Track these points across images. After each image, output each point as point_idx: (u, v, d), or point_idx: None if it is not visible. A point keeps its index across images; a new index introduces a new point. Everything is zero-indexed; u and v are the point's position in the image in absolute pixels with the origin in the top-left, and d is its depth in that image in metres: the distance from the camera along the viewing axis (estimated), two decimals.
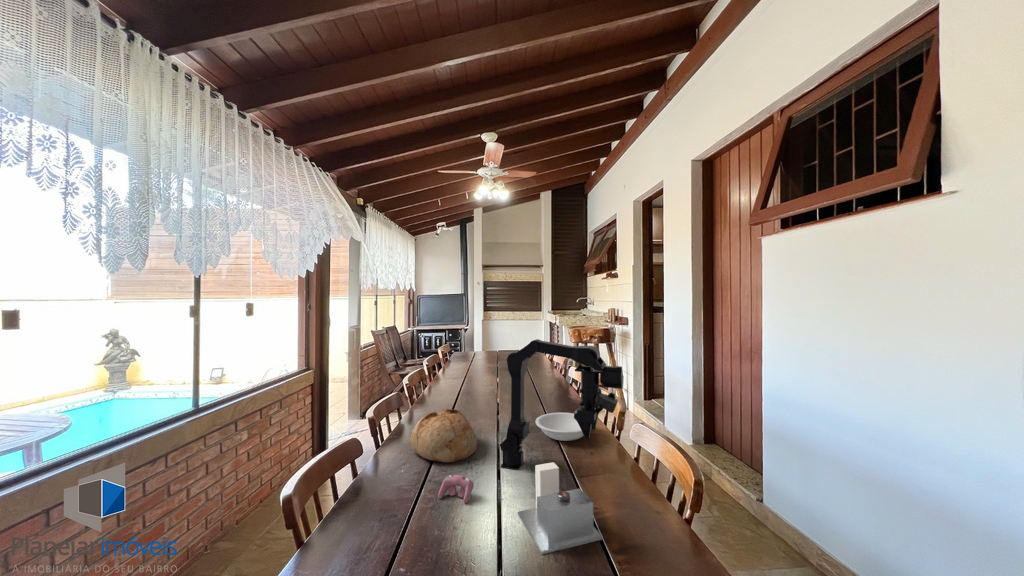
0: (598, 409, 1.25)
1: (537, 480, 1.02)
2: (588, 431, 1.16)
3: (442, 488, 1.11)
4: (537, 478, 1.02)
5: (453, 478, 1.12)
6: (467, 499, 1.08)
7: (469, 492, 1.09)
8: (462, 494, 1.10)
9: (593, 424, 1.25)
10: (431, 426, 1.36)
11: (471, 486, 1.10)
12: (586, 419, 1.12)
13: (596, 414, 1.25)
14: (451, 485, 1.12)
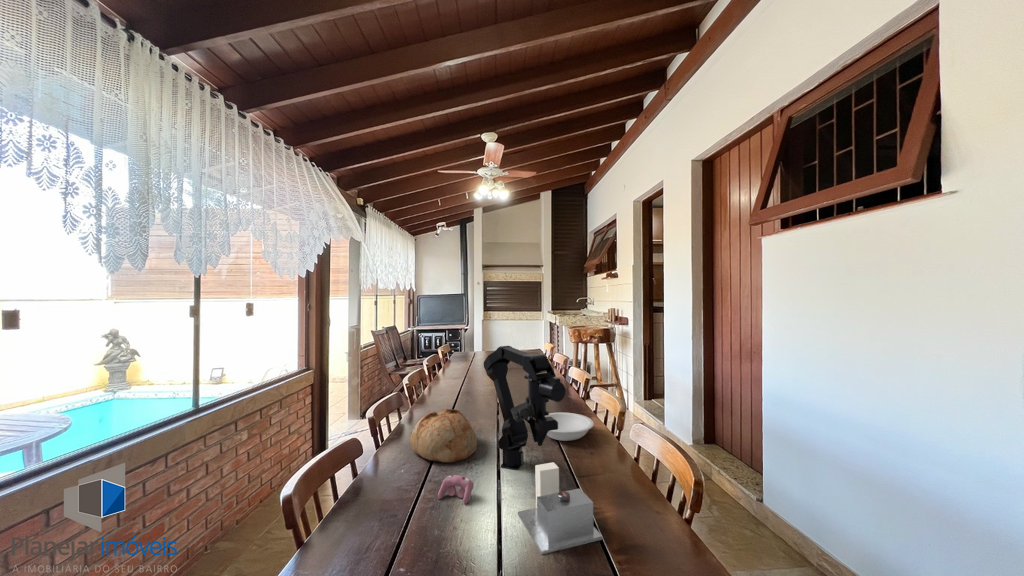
0: None
1: (537, 480, 1.02)
2: None
3: (442, 488, 1.11)
4: (537, 478, 1.02)
5: (453, 478, 1.11)
6: (467, 499, 1.07)
7: (469, 492, 1.08)
8: (462, 494, 1.10)
9: None
10: (431, 426, 1.36)
11: (471, 486, 1.10)
12: None
13: (536, 430, 1.18)
14: (451, 485, 1.12)
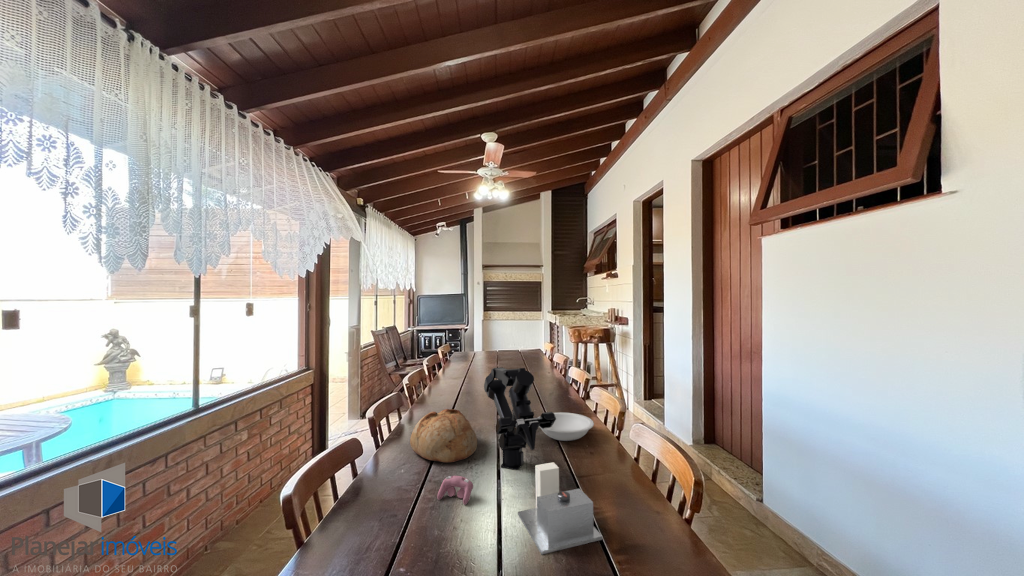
0: None
1: (537, 480, 1.02)
2: None
3: (441, 489, 1.10)
4: (537, 478, 1.02)
5: (453, 479, 1.11)
6: (467, 500, 1.07)
7: (468, 493, 1.08)
8: (461, 495, 1.10)
9: None
10: (431, 426, 1.36)
11: (470, 487, 1.10)
12: None
13: None
14: (450, 486, 1.11)
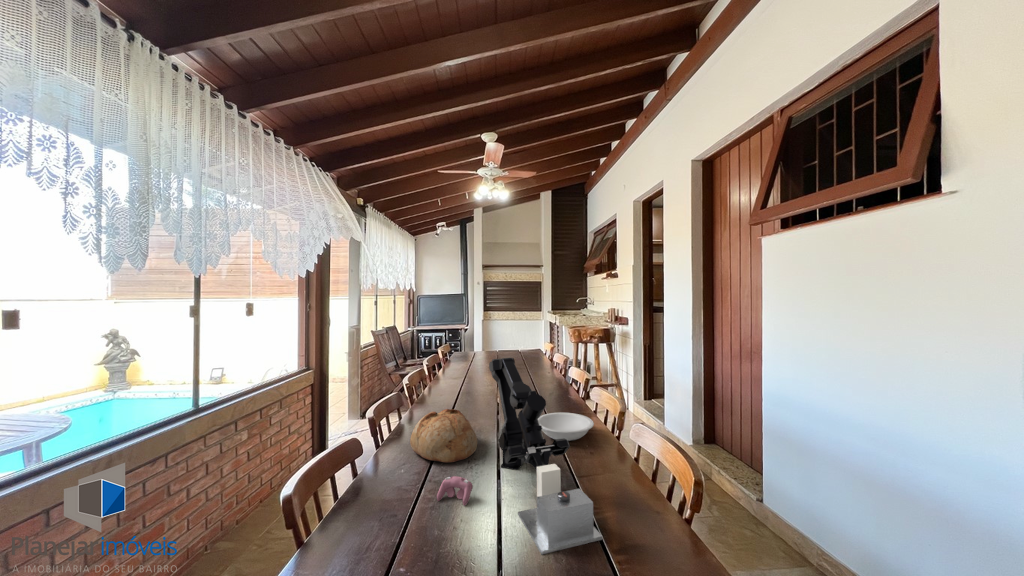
0: None
1: (539, 482, 1.01)
2: None
3: (441, 490, 1.10)
4: (538, 480, 1.01)
5: (452, 480, 1.11)
6: (466, 501, 1.07)
7: (468, 494, 1.08)
8: (461, 496, 1.09)
9: None
10: (431, 426, 1.36)
11: (470, 488, 1.09)
12: None
13: None
14: (450, 487, 1.11)
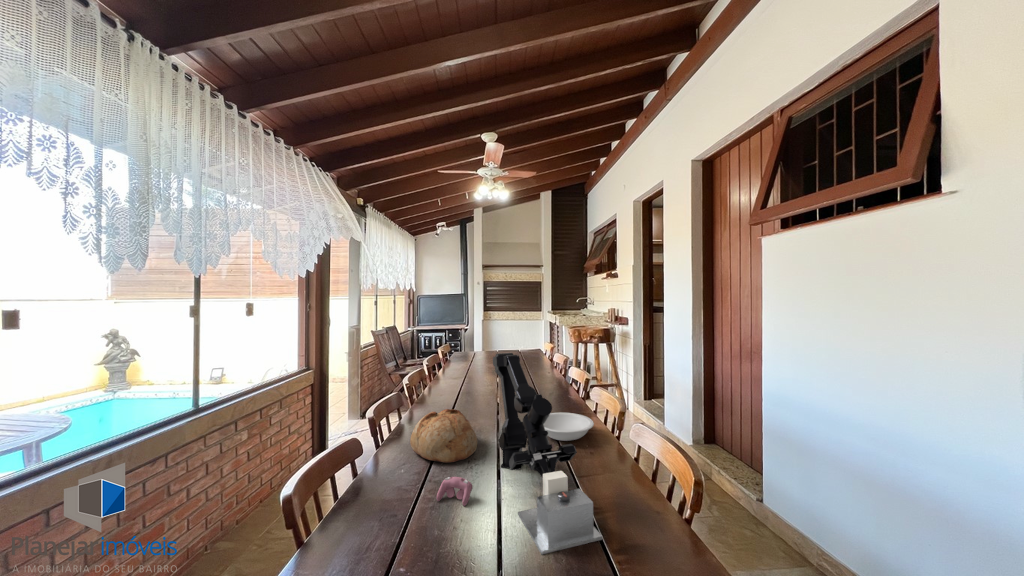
0: None
1: (545, 490, 0.97)
2: None
3: (440, 490, 1.10)
4: (545, 487, 0.97)
5: (452, 480, 1.10)
6: (466, 501, 1.06)
7: (468, 494, 1.08)
8: (461, 496, 1.09)
9: None
10: (431, 426, 1.36)
11: (470, 488, 1.09)
12: None
13: None
14: (450, 487, 1.11)
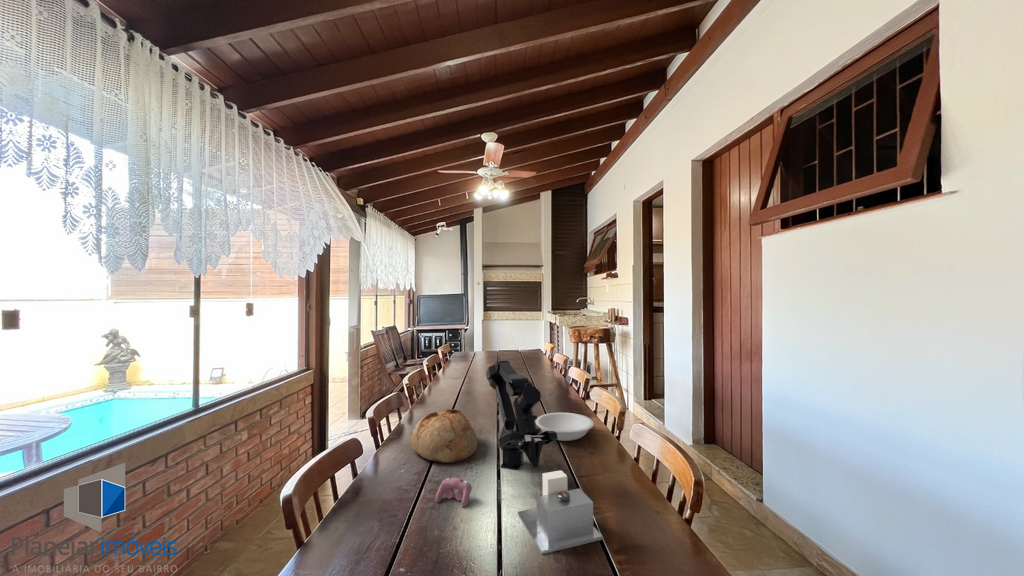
0: None
1: (545, 490, 0.97)
2: None
3: (440, 491, 1.09)
4: (544, 487, 0.97)
5: (451, 481, 1.10)
6: (465, 502, 1.06)
7: (467, 495, 1.07)
8: (460, 497, 1.09)
9: None
10: (431, 426, 1.36)
11: (469, 489, 1.09)
12: None
13: None
14: (449, 488, 1.10)
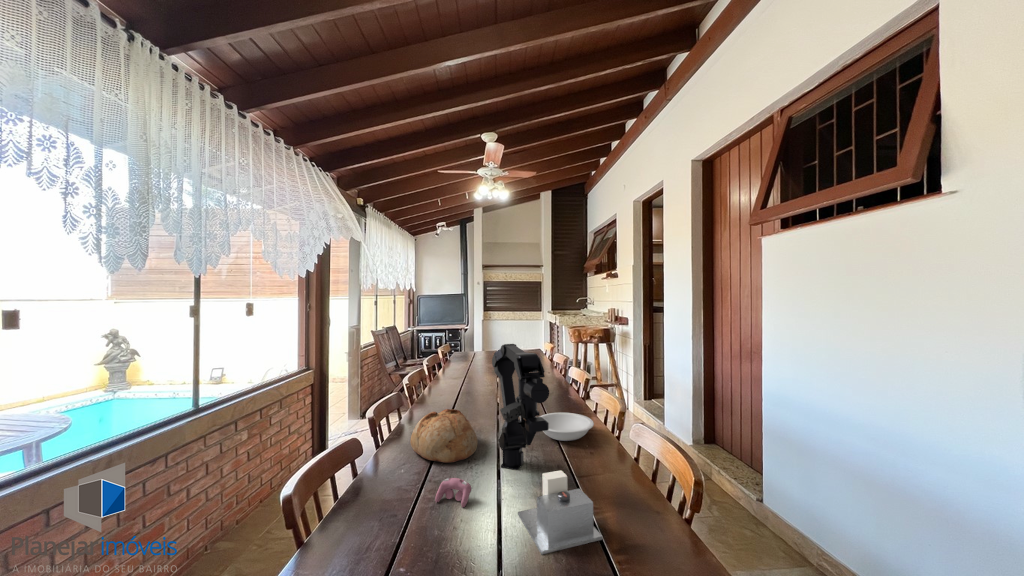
0: None
1: (545, 490, 0.97)
2: None
3: (439, 492, 1.09)
4: (544, 487, 0.97)
5: (451, 481, 1.10)
6: (465, 503, 1.06)
7: (467, 495, 1.07)
8: (459, 497, 1.08)
9: None
10: (432, 426, 1.36)
11: (469, 489, 1.08)
12: None
13: (525, 429, 1.16)
14: (448, 488, 1.10)
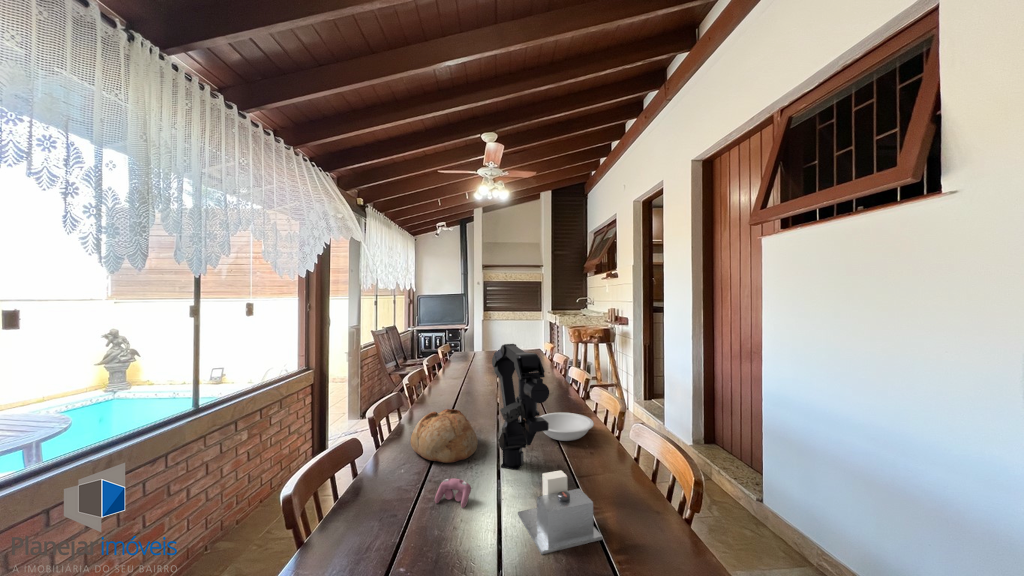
0: None
1: (545, 490, 0.97)
2: None
3: (439, 492, 1.09)
4: (544, 487, 0.97)
5: (450, 482, 1.09)
6: (465, 503, 1.05)
7: (466, 496, 1.07)
8: (459, 498, 1.08)
9: None
10: (432, 426, 1.36)
11: (468, 490, 1.08)
12: None
13: (525, 429, 1.16)
14: (448, 489, 1.10)
